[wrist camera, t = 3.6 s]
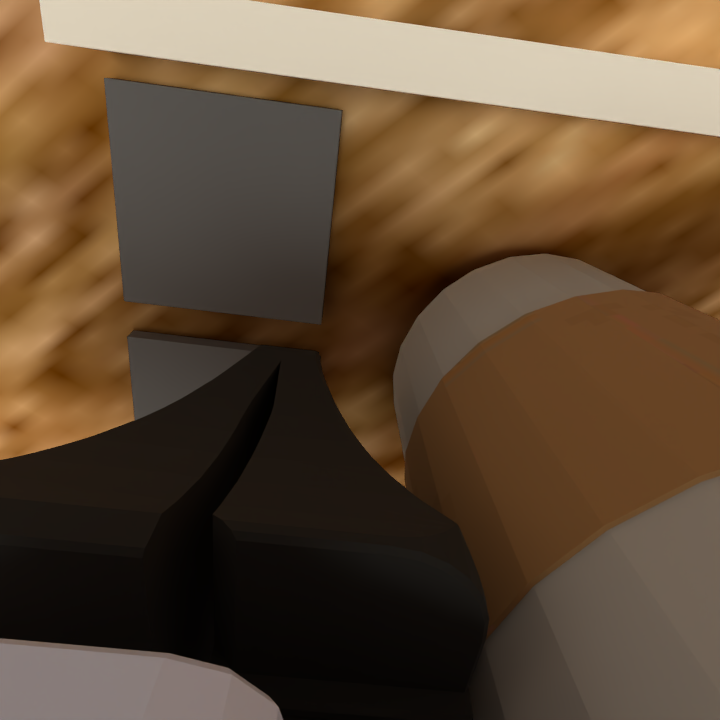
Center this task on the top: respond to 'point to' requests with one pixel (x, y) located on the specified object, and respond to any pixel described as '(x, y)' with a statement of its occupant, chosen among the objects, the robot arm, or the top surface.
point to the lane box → (396, 58)
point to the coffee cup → (575, 485)
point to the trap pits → (217, 219)
